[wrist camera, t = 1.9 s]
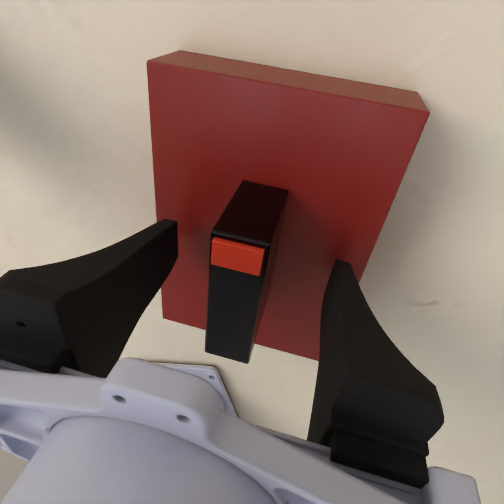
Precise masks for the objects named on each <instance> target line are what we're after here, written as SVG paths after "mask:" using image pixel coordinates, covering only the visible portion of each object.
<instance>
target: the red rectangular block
mask: <svg viewBox="0 0 504 504" xmlns="http://www.w3.org/2000/svg"><path fill="white" fill-rule="evenodd" d="M147 75H148V90H149V106H150V122H151V138H152V153H153V169H154V185H155V200H156V216H157V222H159V221H161V220H163V219H169V220H174V221H178V258H177V260H176V262H175V265H174V267H173V269H172V270H171V272H170V274H169V276H168V277H167V279H166V280H165V282H164V283H163V285H162V286H161V295H162V310H163V318H164V319H168V320H171V321H175V322H179V323H182V324H186V325H190V326H193V327H197V328H200V329H204V330H206V317H207V298H208V278H209V259H210V240H211V230H212V229H213V227H214V225H215V224H216V222H217V221H218V219H219V217H220V216H221V214H222V213H223V211H224V209H225V208H226V206H227V204H228V203H229V201H230V200H231V198H232V196H233V195H234V193H235V191H236V190H237V188H238V187H239V185H240V183H241V182H242V181H243V180H245V181H250V182H254V183H259V184H263V185H268V186H273V187H277V188H282V189H286V190H289V195H288V200H287V205H286V209H285V214H284V219H283V224H282V229H281V234H280V239H279V244H278V249H277V254H276V259H275V264H274V269H273V274H272V278H271V283H270V288H269V293H268V298H267V302H266V306H265V309H264V313H263V316H262V319H261V323H260V326H259V330H258V333H257V336H256V340H255V344H259V345H262V346H266V347H270V348H273V349H277V350H281V351H284V352H288V353H291V354H295V355H299V356H302V357H306V358H310V359H313V360H317V361H319V350H320V321H321V309H322V303H323V297H324V292H325V289H326V286H327V283H328V280H329V277H330V274H331V271H332V269H333V266H334V263H335V260H336V259H337V260H341V261H345V262H350V263H351V265H352V268H353V271H354V274H355V276H356V279H357V282H358V284H359V282H360V279H361V277H362V274H363V272H364V270H365V267H366V265H367V263H368V260H369V258H370V255H371V253H372V251H373V248H374V246H375V243H376V241H377V239H378V236H379V234H380V231H381V229H382V227H383V224H384V222H385V219H386V217H387V215H388V212H389V210H390V207H391V205H392V203H393V200H394V198H395V195H396V193H397V191H398V188H399V186H400V183H401V181H402V179H403V176H404V174H405V172H406V169H407V167H408V164H409V162H410V160H411V157H412V155H413V152H414V150H415V148H416V145H417V143H418V140H419V138H420V136H421V133H422V131H423V128H424V126H425V124H426V121H427V119H428V116H429V114H430V112H429V110H428V109H427V107H426V105H425V104H424V102H423V100H422V99H421V97H420V96H419V94H418V93H417V92H414V91H408V90H402V89H397V88H391V87H385V86H380V85H374V84H368V83H363V82H357V81H351V80H345V79H340V78H334V77H328V76H323V75H317V74H311V73H306V72H300V71H294V70H289V69H283V68H277V67H272V66H266V65H260V64H255V63H249V62H243V61H238V60H232V59H226V58H221V57H215V56H209V55H204V54H198V53H192V52H187V51H181V50H179V51H176V52H173V53H170V54H167V55H163V56H160V57H157V58H154V59H151V60H148V61H147Z"/></svg>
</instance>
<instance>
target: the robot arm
mask: <svg viewBox="0 0 504 504" xmlns="http://www.w3.org/2000/svg"><path fill="white" fill-rule="evenodd" d="M177 258H178V221H174V220H169V219H163V220H161V221H159V222H157V223H155V224H153V225H151V226H149V227H148V228H146V229H144V230H142V231H140V232H138V233H136V234H134V235H132V236H130V237H128V238H126V239H124V240H122V241H120V242H118V243H115V244H113V245H111V246H109V247H106V248H104V249H101V250H98V251H96V252H93V253H90V254H87V255H84V256H80V257H77V258H73V259H70V260H66V261H62V262H57V263H53V264H48V265H43V266H37V267H30V268H23V269H16V270H9V271H8V272H7V273H5V274H4V275H3V276H2V277H0V449H2V450H5V451H7V452H9V453H11V454H13V455H16V456H18V457H20V458H22V459H24V460H26V461H29V463H28V465H27V466H26V468H25V469H24V471H23V472H22V473H21V475H20V476H19V478H18V479H17V481H16V482H15V483H14V485H13V486H12V488H11V489H10V490H9V492H8V493H7V495H6V496H5V498H4V499H3V501H2V502H1V503H0V504H481V501H480V497H479V493H478V489H477V485H476V481H475V479H474V478H473V477H471V476H468V475H465V474H461V473H458V472H455V471H451V470H448V469H445V468H441V467H428V468H427V464H426V457H427V456H428V455H429V449H428V443H427V442H428V441H429V440H430V439H431V438H432V437H433V435H434V434H435V433H436V432H437V431H438V430H439V429H440V428H441V426H442V425H443V423H444V414H443V409H442V404H441V401H440V398H439V395H438V392H437V389H436V386H435V385H434V384H433V383H432V382H431V381H429V380H428V379H427V378H426V377H425V376H424V375H423V374H422V373H421V372H420V371H418V370H417V369H416V368H415V367H414V366H413V365H412V364H411V363H410V361H409V360H408V359H407V358H406V357H405V356H404V355H403V354H402V353H401V352H400V351H399V349H398V348H397V347H396V346H395V345H394V343H393V342H392V341H391V340H390V338H389V337H388V336H387V335H386V333H385V332H384V330H383V329H382V327H381V326H380V324H379V323H378V321H377V320H376V318H375V316H374V315H373V313H372V311H371V309H370V307H369V306H368V304H367V302H366V300H365V297H364V295H363V293H362V291H361V289H360V286H359V284H358V282H357V279H356V276H355V274H354V271H353V268H352V265H351V263H350V262H345V261H341V260H337V259H336V260H335V263H334V266H333V269H332V271H331V274H330V277H329V280H328V283H327V286H326V289H325V292H324V297H323V303H322V309H321V321H320V350H319V366H318V373H317V380H316V387H315V394H314V400H313V407H312V413H311V419H310V425H309V431H308V437H307V441H306V440H303V439H300V438H297V437H293V436H290V435H287V434H283V433H280V432H277V431H274V430H270V429H267V428H264V427H260V426H257V425H254V424H250V423H247V422H245V421H243V420H241V419H239V418H238V416H237V414H236V412H235V410H234V407H233V405H232V403H231V400H230V398H229V396H228V394H227V391H226V389H225V387H224V384H223V382H222V380H221V377H220V375H219V373H218V371H217V369H216V368H215V367H213V366H205V365H189V364H174V363H158V362H149V361H145V360H142V359H138V358H130V357H127V358H123V359H121V360H118V359H119V357H120V355H121V353H122V351H123V349H124V347H125V345H126V343H127V341H128V339H129V337H130V335H131V333H132V331H133V330H134V328H135V326H136V324H137V322H138V320H139V319H140V317H141V315H142V314H143V312H144V310H145V309H146V307H147V306H148V305H149V303H150V302H151V300H152V299H153V297H154V296H155V295H156V293H157V292H158V290H159V289H160V287H161V286H162V285H163V283H164V282H165V280H166V279H167V277H168V276H169V274H170V272H171V270H172V269H173V267H174V265H175V262H176V260H177ZM425 456H426V457H425Z"/></svg>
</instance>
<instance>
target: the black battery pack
mask: <svg viewBox="0 0 504 504" xmlns="http://www.w3.org/2000/svg"><path fill="white" fill-rule="evenodd" d="M288 195H289V190H286V189H282V188H277V187H273V186H268V185H263V184H259V183H254V182H250V181H245V180H243V181H242V182H241V183H240V185H239V187H238V188H237V190H236V191H235V193H234V195H233V196H232V198H231V200H230V201H229V203H228V204H227V206H226V208H225V209H224V211H223V213H222V214H221V216H220V217H219V219H218V221H217V222H216V224H215V225H214V227H213V229H212V230H211V240H210V259H209V278H208V298H207V317H206V336H205V352H207V353H211V354H214V355H218V356H221V357H225V358H228V359H232V360H235V361H239V362H242V363H246V364H248V363H249V360H250V357H251V353H252V350H253V347H254V343H255V340H256V336H257V333H258V330H259V326H260V323H261V319H262V316H263V313H264V309H265V306H266V302H267V298H268V293H269V288H270V283H271V278H272V274H273V269H274V264H275V259H276V254H277V249H278V244H279V239H280V234H281V229H282V224H283V219H284V214H285V209H286V205H287V200H288Z"/></svg>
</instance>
